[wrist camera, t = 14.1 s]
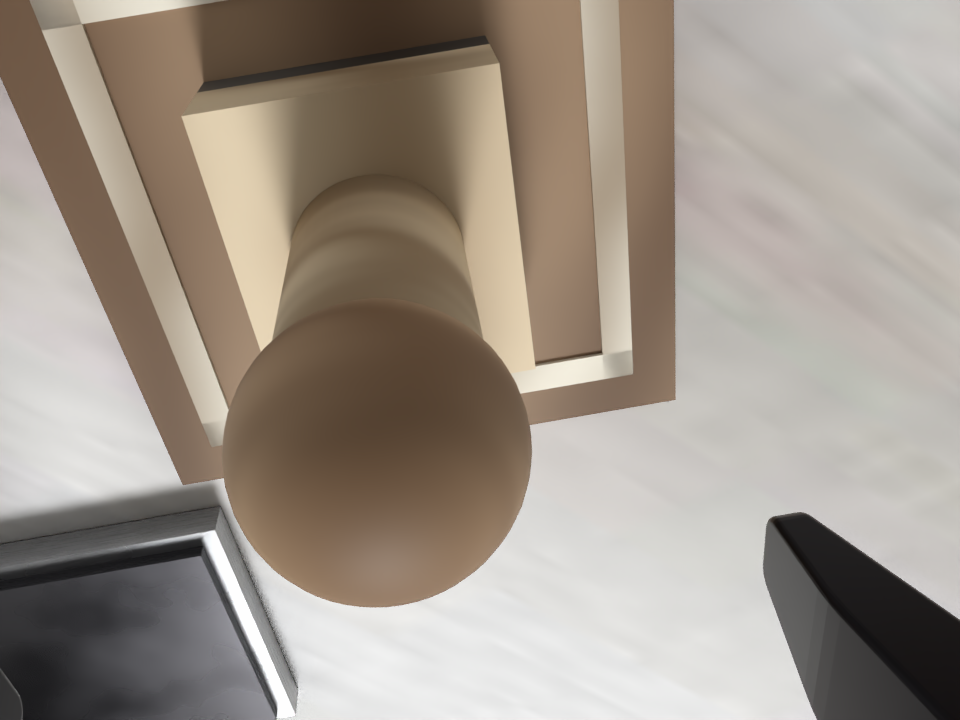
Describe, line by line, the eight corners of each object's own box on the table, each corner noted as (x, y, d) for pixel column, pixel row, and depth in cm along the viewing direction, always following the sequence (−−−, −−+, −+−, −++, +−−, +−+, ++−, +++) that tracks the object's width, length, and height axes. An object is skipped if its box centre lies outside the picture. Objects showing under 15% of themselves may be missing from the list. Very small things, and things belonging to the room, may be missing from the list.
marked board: (186, 471, 24) (182, 487, 23) (-52, -75, 16) (-69, -71, 15) (669, 387, 24) (676, 401, 23) (663, -192, 16) (674, -192, 16)
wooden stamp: (290, 357, 21) (225, 763, 12) (203, 82, 17) (13, 373, 8) (520, 317, 21) (630, 691, 12) (485, 35, 18) (606, 271, 8)
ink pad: (46, 735, 29) (32, 772, 28) (-84, 559, 24) (-107, 596, 23) (298, 690, 29) (294, 726, 28) (220, 506, 25) (212, 540, 23)
